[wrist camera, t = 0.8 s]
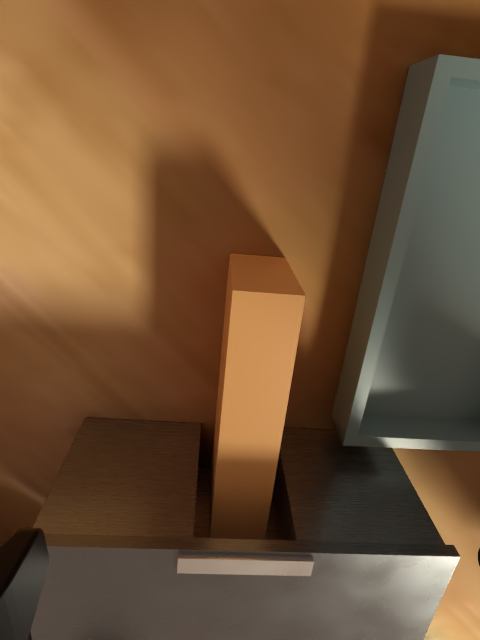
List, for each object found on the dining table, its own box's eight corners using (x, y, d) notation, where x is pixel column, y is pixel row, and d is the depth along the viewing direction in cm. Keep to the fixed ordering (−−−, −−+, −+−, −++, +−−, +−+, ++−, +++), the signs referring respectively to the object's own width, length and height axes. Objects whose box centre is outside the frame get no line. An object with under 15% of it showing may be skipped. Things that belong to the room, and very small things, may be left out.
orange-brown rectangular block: (284, 256, 19) (305, 295, 14) (255, 462, 23) (264, 541, 19) (229, 252, 18) (232, 290, 14) (211, 460, 23) (209, 539, 19)
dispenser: (387, 429, 23) (462, 561, 16) (356, 537, 26) (406, 685, 19) (81, 414, 21) (12, 550, 14) (89, 529, 25) (37, 685, 18)
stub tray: (610, 89, 16) (668, 82, 14) (476, 423, 23) (503, 453, 21) (409, 64, 16) (439, 54, 14) (331, 416, 22) (342, 445, 20)
